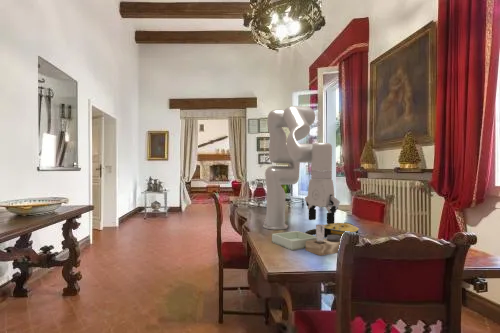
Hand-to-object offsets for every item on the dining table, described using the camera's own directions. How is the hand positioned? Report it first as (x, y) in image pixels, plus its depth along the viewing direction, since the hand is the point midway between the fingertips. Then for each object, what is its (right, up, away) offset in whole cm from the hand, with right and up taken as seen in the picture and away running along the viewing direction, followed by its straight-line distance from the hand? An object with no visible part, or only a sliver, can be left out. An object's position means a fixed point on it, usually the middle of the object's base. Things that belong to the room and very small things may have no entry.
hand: (321, 221), depth 118 cm
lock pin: (0, -11, +1) cm, 11 cm away
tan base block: (+3, -11, +2) cm, 12 cm away
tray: (-8, -11, +11) cm, 18 cm away
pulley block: (+12, -12, +28) cm, 33 cm away
